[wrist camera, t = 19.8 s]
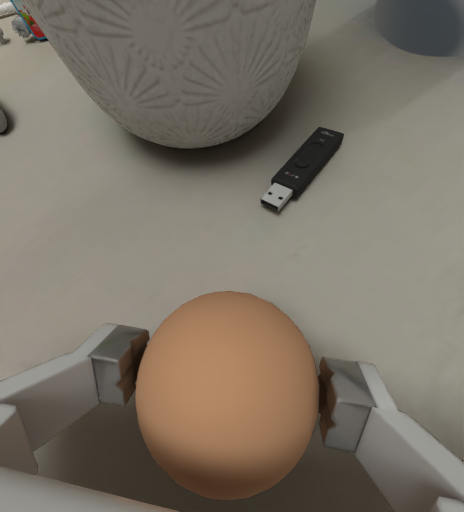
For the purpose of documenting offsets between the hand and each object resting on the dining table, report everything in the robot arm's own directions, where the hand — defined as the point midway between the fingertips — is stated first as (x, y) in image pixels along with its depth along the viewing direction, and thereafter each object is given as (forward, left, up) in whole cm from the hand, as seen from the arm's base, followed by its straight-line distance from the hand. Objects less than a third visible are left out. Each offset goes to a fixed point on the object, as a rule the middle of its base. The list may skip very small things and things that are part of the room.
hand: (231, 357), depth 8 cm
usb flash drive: (+4, -12, -4) cm, 14 cm away
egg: (0, +1, -5) cm, 5 cm away
